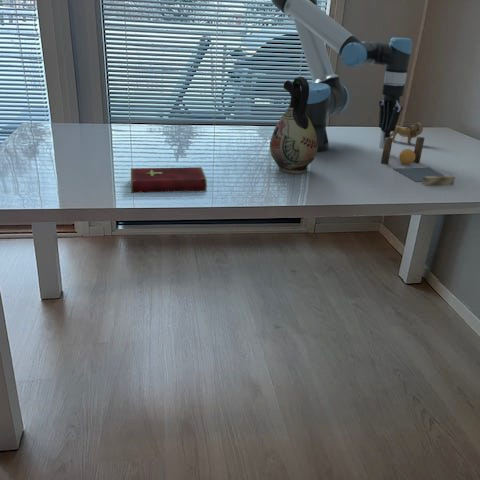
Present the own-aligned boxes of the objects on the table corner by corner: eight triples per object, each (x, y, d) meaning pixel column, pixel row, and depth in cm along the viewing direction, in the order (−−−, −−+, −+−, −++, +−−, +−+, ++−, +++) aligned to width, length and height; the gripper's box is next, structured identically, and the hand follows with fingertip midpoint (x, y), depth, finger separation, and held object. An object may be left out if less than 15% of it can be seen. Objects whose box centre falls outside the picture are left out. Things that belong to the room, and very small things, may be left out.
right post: (414, 163, 175) (419, 138, 171) (410, 161, 177) (415, 136, 173) (420, 163, 176) (426, 138, 172) (416, 161, 178) (421, 136, 174)
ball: (402, 166, 170) (406, 151, 168) (394, 161, 175) (398, 147, 172) (416, 166, 172) (420, 151, 169) (408, 161, 176) (411, 146, 174)
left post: (383, 164, 172) (387, 139, 168) (379, 162, 174) (383, 137, 170) (389, 164, 173) (394, 139, 169) (386, 162, 175) (390, 137, 171)
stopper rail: (425, 185, 152) (427, 178, 151) (421, 183, 153) (423, 176, 152) (453, 184, 154) (455, 177, 153) (449, 182, 156) (451, 175, 155)
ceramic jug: (260, 164, 165) (266, 72, 152) (301, 162, 170) (310, 72, 157) (282, 180, 151) (290, 79, 138) (325, 176, 156) (337, 79, 143)
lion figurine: (420, 143, 204) (424, 122, 200) (419, 146, 199) (424, 124, 195) (384, 139, 208) (387, 118, 204) (382, 141, 204) (386, 120, 200)
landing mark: (415, 182, 155) (415, 181, 155) (393, 169, 167) (393, 168, 167) (453, 180, 158) (453, 179, 158) (428, 167, 170) (428, 167, 170)
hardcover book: (206, 192, 139) (206, 178, 137) (131, 194, 135) (130, 180, 133) (201, 179, 150) (201, 166, 148) (131, 180, 145) (130, 167, 144)
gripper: (413, 86, 171) (400, 152, 181) (394, 81, 182) (383, 143, 192) (394, 86, 169) (382, 153, 179) (376, 81, 180) (366, 144, 190)
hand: (383, 148), depth 185 cm, fingers closed
